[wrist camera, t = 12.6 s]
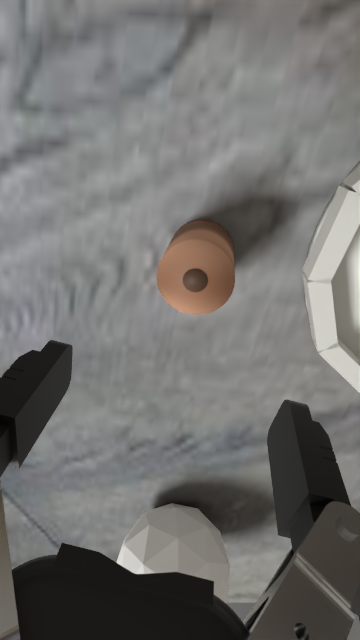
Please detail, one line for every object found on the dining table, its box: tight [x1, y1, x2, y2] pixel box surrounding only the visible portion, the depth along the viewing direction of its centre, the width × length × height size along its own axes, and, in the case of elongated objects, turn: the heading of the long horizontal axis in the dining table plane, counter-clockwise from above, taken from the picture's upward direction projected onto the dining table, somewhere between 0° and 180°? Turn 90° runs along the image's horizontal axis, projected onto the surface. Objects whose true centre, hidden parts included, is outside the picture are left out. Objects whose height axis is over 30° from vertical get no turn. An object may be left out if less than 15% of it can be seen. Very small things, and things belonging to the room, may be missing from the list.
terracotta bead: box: [157, 220, 235, 315], centre depth 23 cm, size 5×5×6 cm
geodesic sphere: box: [116, 503, 230, 604], centre depth 38 cm, size 14×14×14 cm
